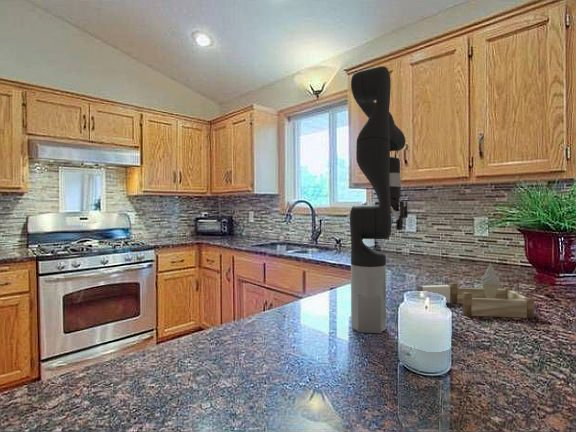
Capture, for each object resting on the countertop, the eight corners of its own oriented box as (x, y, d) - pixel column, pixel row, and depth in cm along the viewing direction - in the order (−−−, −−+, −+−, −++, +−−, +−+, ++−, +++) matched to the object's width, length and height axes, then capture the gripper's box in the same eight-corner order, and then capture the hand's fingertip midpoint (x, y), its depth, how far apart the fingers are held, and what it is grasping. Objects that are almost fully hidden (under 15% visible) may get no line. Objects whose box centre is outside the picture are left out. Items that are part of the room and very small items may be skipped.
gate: (446, 300, 122) (447, 284, 122) (450, 301, 120) (450, 285, 120) (416, 301, 121) (417, 285, 121) (419, 302, 119) (419, 286, 119)
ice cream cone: (481, 310, 112) (481, 262, 111) (481, 306, 116) (481, 260, 116) (500, 312, 109) (500, 263, 109) (499, 308, 114) (499, 261, 114)
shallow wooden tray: (535, 318, 103) (536, 296, 103) (464, 315, 106) (464, 294, 106) (510, 303, 119) (510, 284, 119) (448, 301, 123) (448, 282, 122)
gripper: (369, 186, 137) (369, 229, 137) (397, 184, 125) (397, 230, 125) (383, 187, 141) (383, 228, 141) (412, 185, 128) (412, 230, 129)
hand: (390, 229), depth 133 cm, fingers open, 8 cm apart
